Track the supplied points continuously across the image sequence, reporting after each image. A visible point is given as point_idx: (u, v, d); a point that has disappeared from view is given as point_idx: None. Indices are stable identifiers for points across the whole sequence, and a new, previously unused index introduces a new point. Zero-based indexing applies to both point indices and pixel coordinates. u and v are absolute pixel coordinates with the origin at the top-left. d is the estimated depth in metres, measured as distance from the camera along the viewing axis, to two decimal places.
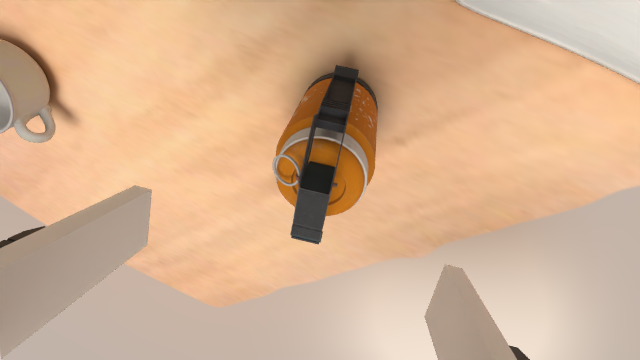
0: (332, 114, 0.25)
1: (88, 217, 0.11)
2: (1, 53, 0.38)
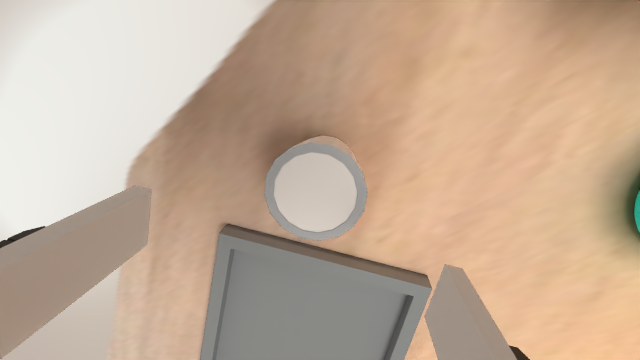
0: None
1: (88, 217, 0.11)
2: None
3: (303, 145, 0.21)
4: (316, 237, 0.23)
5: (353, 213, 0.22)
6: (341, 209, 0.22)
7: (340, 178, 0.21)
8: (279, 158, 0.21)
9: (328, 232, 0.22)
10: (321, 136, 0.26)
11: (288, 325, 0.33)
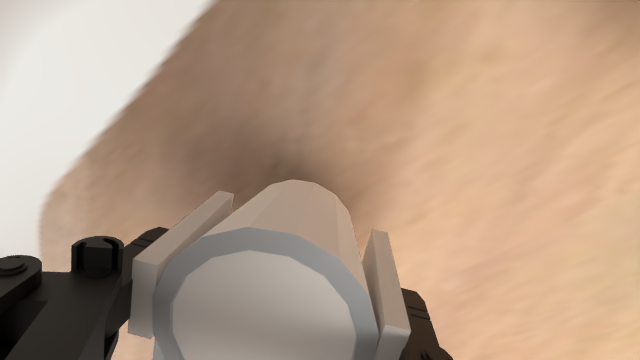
0: None
1: (198, 219, 0.13)
2: None
3: (230, 233, 0.09)
4: None
5: None
6: None
7: (316, 305, 0.09)
8: (178, 259, 0.09)
9: None
10: (289, 184, 0.14)
11: None
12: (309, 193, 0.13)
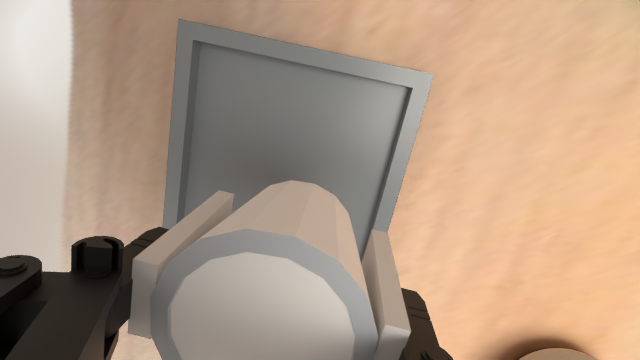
0: None
1: (198, 219, 0.13)
2: None
3: (228, 235, 0.09)
4: None
5: None
6: None
7: (315, 308, 0.09)
8: (176, 261, 0.09)
9: None
10: (288, 185, 0.14)
11: (267, 155, 0.28)
12: (308, 194, 0.13)
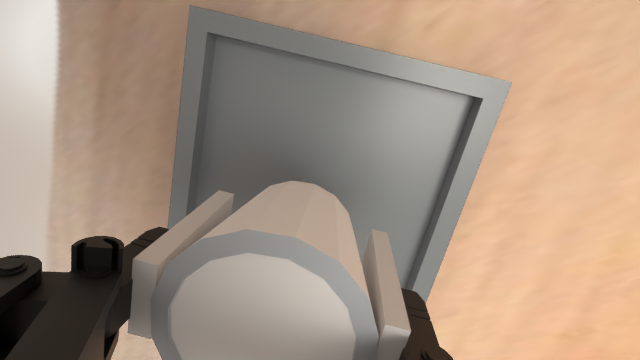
0: None
1: (198, 219, 0.13)
2: None
3: (228, 236, 0.09)
4: None
5: None
6: None
7: (316, 308, 0.09)
8: (176, 262, 0.09)
9: None
10: (288, 186, 0.14)
11: (293, 174, 0.23)
12: (309, 194, 0.13)
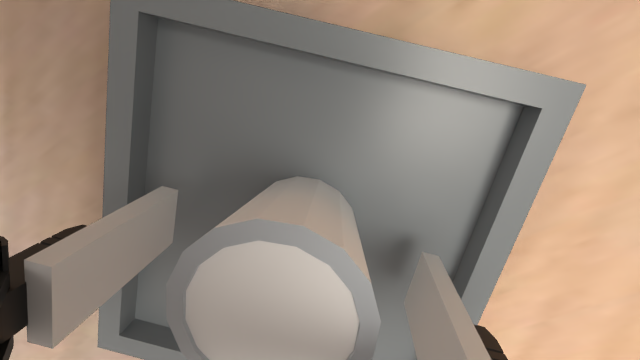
0: None
1: (125, 216, 0.12)
2: None
3: (241, 225, 0.09)
4: None
5: None
6: (325, 352, 0.10)
7: (322, 294, 0.10)
8: (191, 249, 0.10)
9: None
10: (294, 181, 0.15)
11: None
12: (314, 189, 0.14)
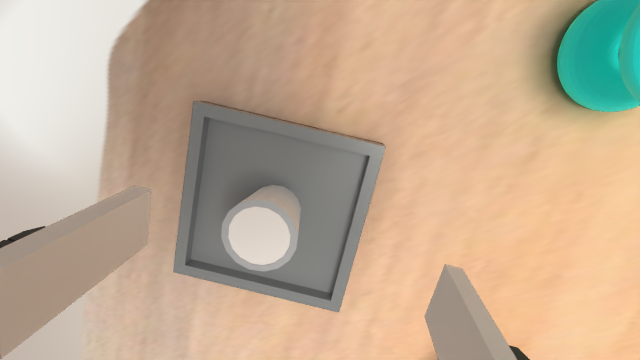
0: None
1: (88, 217, 0.11)
2: None
3: (248, 201, 0.28)
4: (261, 269, 0.30)
5: (288, 250, 0.29)
6: (279, 248, 0.29)
7: (277, 225, 0.28)
8: (231, 210, 0.28)
9: (270, 265, 0.29)
10: (270, 186, 0.34)
11: None
12: (278, 190, 0.33)
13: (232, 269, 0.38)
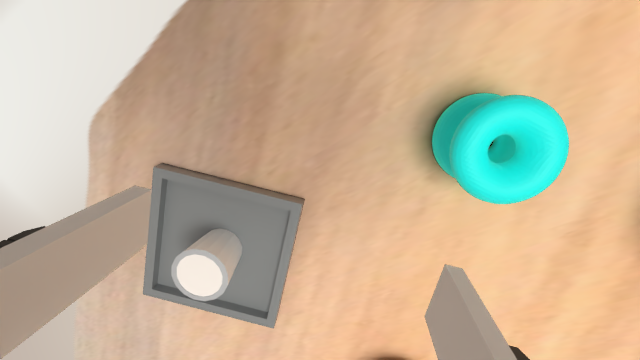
0: None
1: (88, 217, 0.11)
2: None
3: (190, 250, 0.37)
4: (203, 299, 0.39)
5: (222, 286, 0.38)
6: (215, 284, 0.38)
7: (212, 268, 0.38)
8: (178, 256, 0.38)
9: (208, 297, 0.39)
10: (215, 231, 0.43)
11: None
12: (220, 235, 0.42)
13: None
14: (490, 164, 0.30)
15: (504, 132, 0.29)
